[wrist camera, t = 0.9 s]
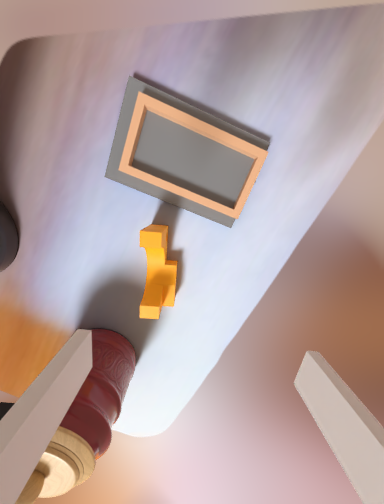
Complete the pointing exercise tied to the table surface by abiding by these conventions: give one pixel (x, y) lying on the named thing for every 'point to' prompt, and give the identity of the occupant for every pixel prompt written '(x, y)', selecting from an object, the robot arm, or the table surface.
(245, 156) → the holder board
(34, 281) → the table surface
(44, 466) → the canister
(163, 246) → the pipe clamp
